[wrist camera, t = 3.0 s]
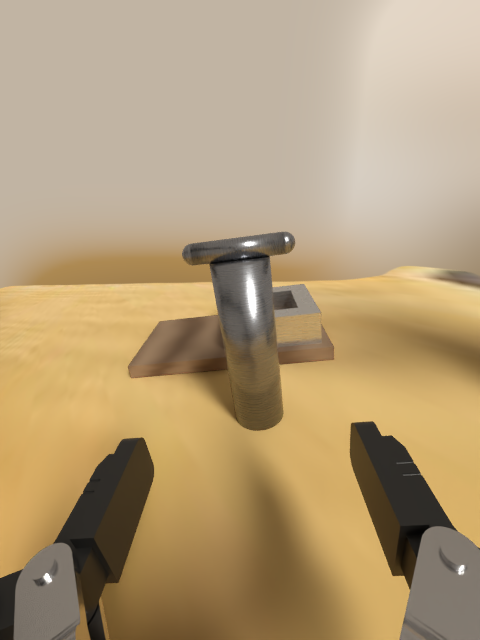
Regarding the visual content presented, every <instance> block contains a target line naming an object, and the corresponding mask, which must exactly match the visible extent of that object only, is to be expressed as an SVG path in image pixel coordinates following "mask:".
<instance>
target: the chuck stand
mask: <svg viewBox="0 0 480 640" xmlns="http://www.w3.org/2000/svg"><path fill="white" fill-rule="evenodd" d="M272 289H273V301H274V312H275V323H276V334H277V346H278V357H279V364H288V363H299V362H310V361H321V360H331V359H334V346H333V344H332V343H331V341H330V339H329V337H328V335H327V333H326V332H325V330H324V328H323V326H322V324H321V312H320V310H319V308H318V307H317V305H316V303H315V302H314V300H313V298H312V297H311V295H310V293H309V292H308V290H307V288H306V287H305V285H304V284H300V285H291V286H282V287H274V288H272ZM128 369H129V372H130V375H131V378H137V377H148V376H159V375H170V374H181V373H191V372H202V371H213V370H224V369H228V367H227V362H226V356H225V350H224V344H223V339H222V333H221V327H220V321H219V316H218V315H214V316H205V317H196V318H186V319H177V320H168V321H160V322H159V323H158V324H157V326H156V327H155V329H154V330H153V332H152V333H151V334H150V336H149V337H148V339H147V340H146V341H145V343H144V344H143V346H142V347H141V349H140V350H139V351H138V353H137V354H136V356H135V357H134V358H133V360H132V361H131V363H130V364H129V366H128Z"/></svg>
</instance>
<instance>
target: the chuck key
mask: <svg viewBox="0 0 480 640" xmlns="http://www.w3.org/2000/svg"><path fill="white" fill-rule="evenodd" d="M294 246H295V239H294V237H293V236H292V235H291V234H290V233H288V232H278V233H270V234H262V235H255V236H247V237H240V238H232V239H224V240H217V241H209V242H201V243H193V244H189V245H187V246H185V248H184V250H183V253H182V256H183V259H184V261H185V262H186V263H187V264H189V265H200V264H209V263H210V270H211V275H212V281H213V287H214V293H215V299H216V304H217V310H218V316H219V321H220V327H221V333H222V339H223V344H224V350H225V356H226V362H227V367H228V373H229V379H230V384H231V390H232V396H233V402H234V407H235V413H236V418H237V421H238V422H239V423H240V425H242V426H243V427H245V428H247V429H250V430H266V429H269V428H271V427H273V426H275V425H276V424H278V423H279V422H280V420H281V419H282V417H283V402H282V391H281V379H280V368H279V357H278V346H277V334H276V323H275V312H274V301H273V289H272V280H271V267H270V256H273V255H281V254H287V253H289V252H291V251H292V250H293V248H294Z"/></svg>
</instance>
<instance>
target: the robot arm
mask: <svg viewBox="0 0 480 640" xmlns="http://www.w3.org/2000/svg"><path fill="white" fill-rule="evenodd" d="M350 458H351V463H352V467H353V470H354V473H355V476H356V479H357V481H358V484H359V487H360V489H361V492H362V495H363V497H364V500H365V503H366V505H367V508H368V511H369V514H370V516H371V519H372V522H373V524H374V527H375V530H376V532H377V535H378V538H379V540H380V543H381V546H382V548H383V551H384V554H385V557H386V559H387V562H388V565H389V567H390V570H391V573H392V575H393V576H405V579H406V581H407V584H408V586H409V589H410V594H409V599H408V603H407V608H406V613H405V617H404V621H403V626H402V630H401V635H400V640H480V548H478V547H477V546H476V545H475V544H474V543H473V542H472V541H470V540H469V539H468V538H467V537H465V536H464V535H463V534H461V533H459V532H458V531H457V530H456V529H455V528H454V526H453V525H452V523H451V522H450V520H449V519H448V517H447V515H446V514H445V512H444V511H443V509H442V507H441V506H440V504H439V502H438V501H437V499H436V497H435V496H434V494H433V492H432V491H431V489H430V488H429V486H428V484H427V483H426V481H425V479H424V478H423V476H421V474H420V471H419V469H418V468H417V466H416V465H415V464H414V462H413V460H412V458H411V456H410V455H409V453H408V451H407V450H406V448H405V447H404V446H403V445H402V444H401V443H400V442H398V441H397V440H396V439H395V438H394V437H393V436H381V434H380V432H379V430H378V428H377V426H376V425H375V423H374V422H373V421H371V422H357V423H351V434H350ZM153 477H154V465H153V462H152V459H151V456H150V453H149V451H148V448H147V445H146V442H145V440H144V438H130V439H123V440H122V441H121V442H120V443H119V445H118V447H117V449H116V451H115V453H114V454H109V455H108V456H107V457H106V458H105V459H104V460H103V461H102V462H101V463H100V464H99V465H98V466H97V468H96V469H95V471H94V473H93V475H92V476H91V478H90V482H89V483H88V484H87V485H86V487H85V489H84V491H83V494H81V496H80V498H79V500H78V501H77V503H76V505H75V507H74V509H73V510H72V512H71V514H70V516H69V518H68V519H67V521H66V523H65V525H64V526H63V528H62V530H61V532H60V534H59V535H58V537H57V539H56V540H55V542H54V543H53V544H52V545H50V546H48V547H46V548H44V549H43V550H41V551H40V552H38V553H37V554H36V555H35V556H34V557H33V558H32V559H31V560H30V561H29V562H28V563H27V565H26V566H25V567H24V569H22V570H20V571H17V572H15V573H12V574H10V575H7V576H5V577H2V578H0V640H110V638H109V633H108V628H107V623H106V618H105V613H104V608H103V602H102V599H101V594H102V591H103V589H104V586H105V583H118V582H119V579H120V576H121V573H122V571H123V568H124V565H125V562H126V559H127V556H128V553H129V550H130V547H131V544H132V541H133V538H134V535H135V532H136V529H137V526H138V523H139V520H140V517H141V514H142V511H143V508H144V506H145V503H146V500H147V497H148V494H149V491H150V488H151V485H152V482H153Z"/></svg>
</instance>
